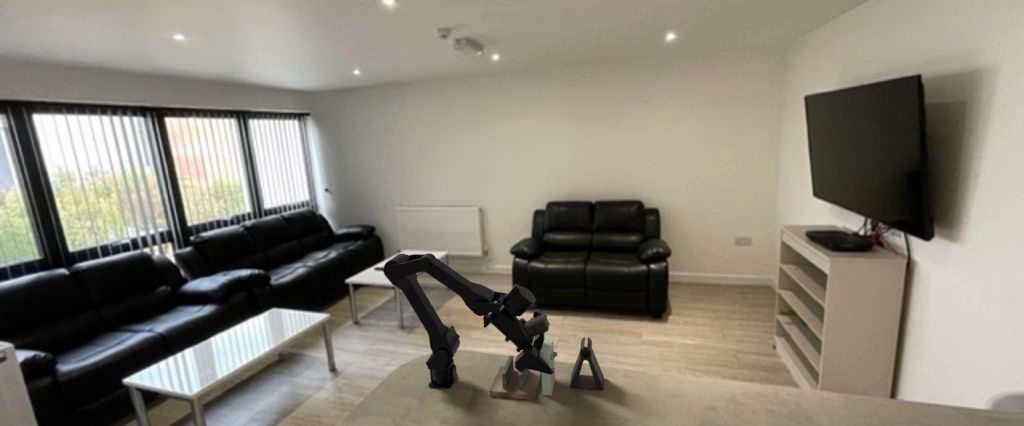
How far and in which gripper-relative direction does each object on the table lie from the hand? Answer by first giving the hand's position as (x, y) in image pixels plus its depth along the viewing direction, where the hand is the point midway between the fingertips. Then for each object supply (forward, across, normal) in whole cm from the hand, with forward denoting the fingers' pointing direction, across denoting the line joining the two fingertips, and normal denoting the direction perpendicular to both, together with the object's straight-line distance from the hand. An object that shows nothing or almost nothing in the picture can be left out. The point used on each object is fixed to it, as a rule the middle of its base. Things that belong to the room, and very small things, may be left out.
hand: (553, 365), depth 114 cm
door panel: (+4, 0, +6) cm, 7 cm away
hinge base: (-3, 0, +12) cm, 12 cm away
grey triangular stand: (+11, +3, -1) cm, 12 cm away
